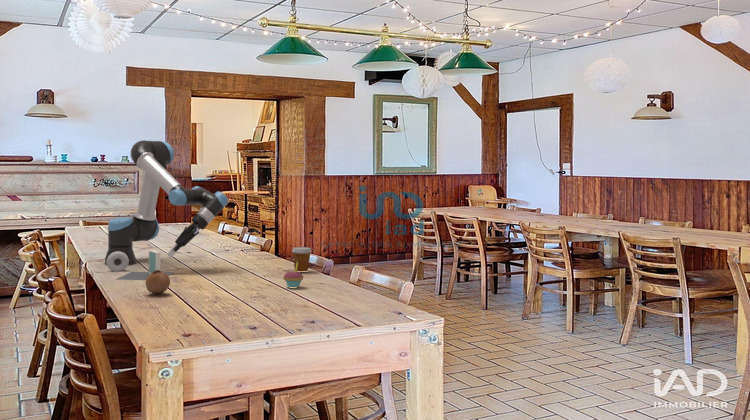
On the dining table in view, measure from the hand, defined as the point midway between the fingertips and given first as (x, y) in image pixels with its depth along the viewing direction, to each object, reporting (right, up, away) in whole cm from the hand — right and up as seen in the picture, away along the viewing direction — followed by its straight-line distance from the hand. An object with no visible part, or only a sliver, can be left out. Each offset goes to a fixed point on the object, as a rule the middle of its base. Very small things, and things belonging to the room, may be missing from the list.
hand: (168, 255), depth 322 cm
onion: (+9, -13, -46) cm, 48 cm away
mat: (-9, -9, -6) cm, 14 cm away
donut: (-26, -8, +6) cm, 28 cm away
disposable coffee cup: (+60, -10, +18) cm, 63 cm away
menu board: (-6, -9, -3) cm, 11 cm away
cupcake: (+61, -13, -23) cm, 66 cm away
